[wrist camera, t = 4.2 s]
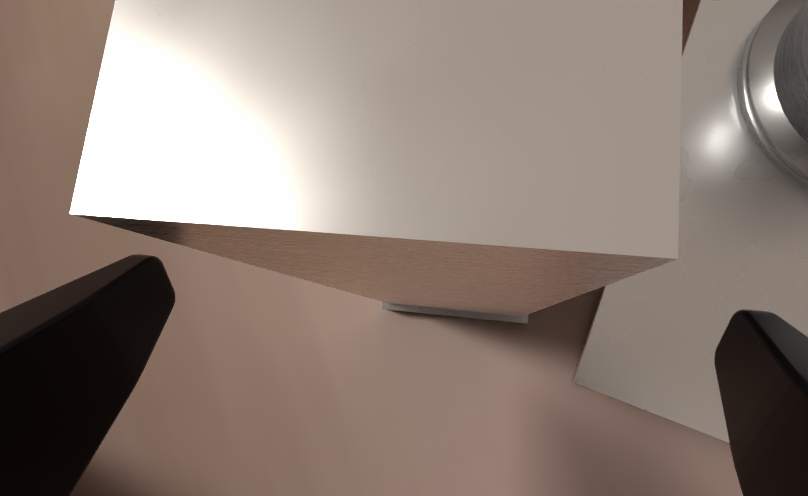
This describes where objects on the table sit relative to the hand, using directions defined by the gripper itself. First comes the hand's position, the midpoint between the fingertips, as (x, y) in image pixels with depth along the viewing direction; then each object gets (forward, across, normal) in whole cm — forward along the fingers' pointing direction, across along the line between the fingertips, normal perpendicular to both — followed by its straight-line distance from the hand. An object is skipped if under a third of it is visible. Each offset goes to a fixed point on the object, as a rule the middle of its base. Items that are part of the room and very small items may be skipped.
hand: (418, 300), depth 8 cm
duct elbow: (+9, 0, +4) cm, 10 cm away
